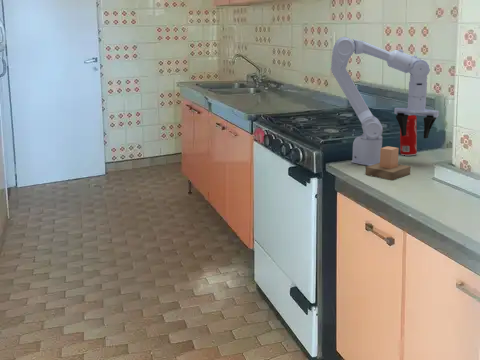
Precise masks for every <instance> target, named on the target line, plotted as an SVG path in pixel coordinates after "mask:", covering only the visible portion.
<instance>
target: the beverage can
mask: <svg viewBox="0 0 480 360" xmlns="http://www.w3.org/2000/svg"><path fill="white" fill-rule="evenodd" d="M417 122H418V121H417V115H408V120H407V129H406V135H405V136H402V134H401V129H400V128H399V134H400V135H399V142H400V143H399V145H400V146H399V147H400V148H399V153H400V155H401V156H404V155H405V156H406V157H408V156H409V157H410V156H411V157H412V156H416V155H417V153H418V151H417V149H418V146H417V145H418V144H417V142H418V141H417V140H418V138H417V137H418V133H417V131H418V130H417V126H418V124H417Z"/></svg>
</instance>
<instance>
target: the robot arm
mask: <svg viewBox="0 0 480 360" xmlns="http://www.w3.org/2000/svg"><path fill="white" fill-rule="evenodd" d="M353 54H355V55H360V54H366V55H369V56H370V57H371V56H372V57H374V58H376V59H377V58H378V59H380V60H383V61H385V62H386V64H387V66H388V67H389V68H392V69H394V70H398V71H400V72H402V73H404V74H409V81H408V94H407V96H408V97H407V107H394V115H395V119H396V121H397V123H398V125H399V130H400V129H401V134H402V136H405V135H406V129H407V120H408V115H416V116H420V117H423V139H428V138H429V136H430V131H431V129H432V126H433V125H434V123H435V121H436V119H437V118H438V117H439V115H440V110H435V109H434V110H433V109H428V108H426V104H427V92H428V91H427V90H428V75H430V71H431V69H430V65H429V63H428V62H427V61H426V60H424V59H422V58H419V57H418V56H417V55H415V54H414V55H411V54H408V53H406V52H404V50H403V49H399V50H398V49H395V50H392V51H388V50H386V49H384V48H381V47H379V46H376V45H374V44H371V43H369V42H366V41H364V40H360V39H357V38H356V39H355V38H352V39H351V38H349V37H347V36H342V37H339V38H337V40H336V41H335V43H334V45H333V47H332V53H331V62H330V63H331V64H330V70H331V73H332V75H333V76H334V78H335V80H336V82H337V84H338V85H339V87H340V88H341V90H342V92H343V94H344V96H345V97H346V99H347V101H348V102H349V105H350V106H351V107H352V108H353V111H354V112H355V114H356V116H357V119H358V120H359V121H360V122H359V123H361V129H362V131H363V133H362V134H361V135H360V136H356V137H355V138H354V140H353V143H352V158H351V159H352V160H351V161H350V162H351V163H352V164H359V165H362V166H366V167H367V166H370V165H374V164H377V163H380V151H381V148H383V135H382V134H383V132H384V127H383V125H382V123H381V121H380V119H379V118H378V117H376V116H374V114H373V113H372V112H371V110H370V109H369V107H368V105H367V103H366V101H365V100H364V98H363V96H362V95H361V93H360V91H359V89H358V88H357V85H355V83H354V81H353V79H352V77H351V75H350V73H349V71H348V70H347V66H348V64H349V60H350V59H351V57H352V56H353Z"/></svg>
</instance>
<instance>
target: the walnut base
mask: <svg viewBox="0 0 480 360" xmlns="http://www.w3.org/2000/svg"><path fill="white" fill-rule="evenodd" d="M364 173H365V174H366V176H370V175H372V176H371V177H375V176H377V177H376V178H379V177H381V178H380V179H384V178H385V180H390V181H394V179H395V180H397V178H398V179H400V178H402V177H406V176H408V175H411V166H410V165H406V164H399V163H398V167H394V168H391V169H389V168H384V167H380V163H377V164H374V165H370V166H367V165H366V166H365V172H364Z"/></svg>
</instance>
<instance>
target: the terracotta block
mask: <svg viewBox="0 0 480 360" xmlns="http://www.w3.org/2000/svg"><path fill="white" fill-rule="evenodd" d="M399 153H400V148H399V147H395V146H388V145H386V146H382V148H381V151H380V167H384V168H389V169H391V168H394V167H398V164H399Z"/></svg>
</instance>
